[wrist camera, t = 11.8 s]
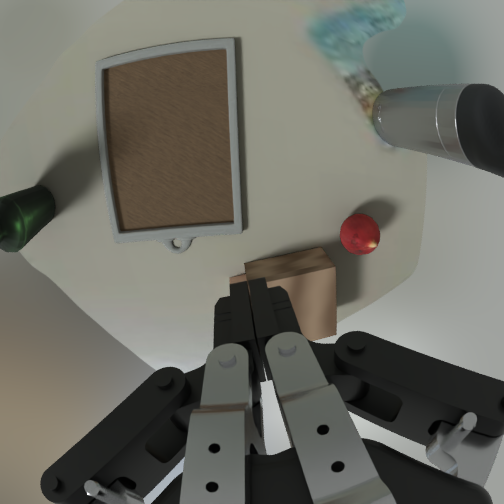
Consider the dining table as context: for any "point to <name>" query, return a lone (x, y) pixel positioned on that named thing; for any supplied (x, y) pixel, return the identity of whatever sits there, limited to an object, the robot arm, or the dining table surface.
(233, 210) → the grey framed board
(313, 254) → the cubby
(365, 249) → the onion
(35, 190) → the potion bottle
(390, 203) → the dining table surface
